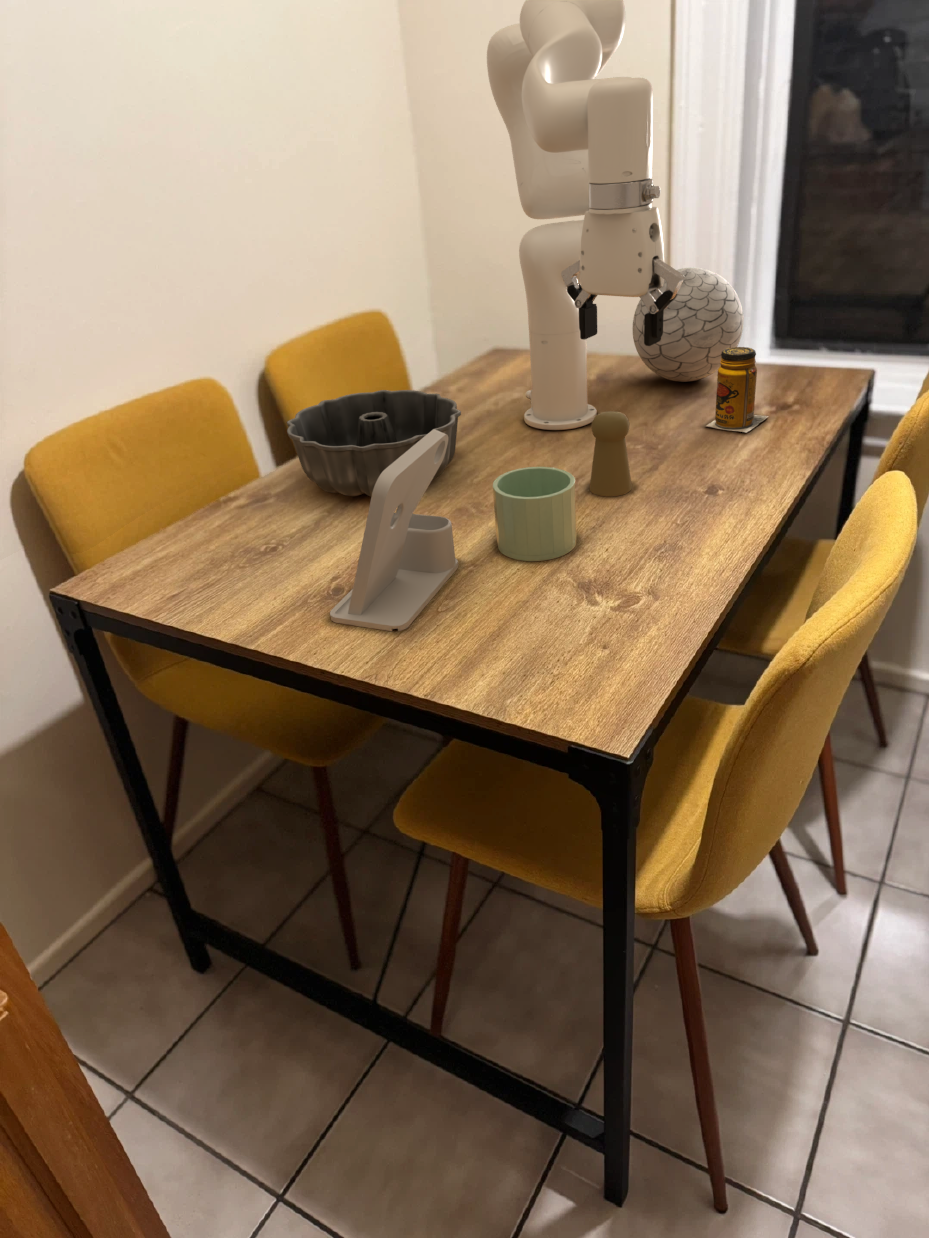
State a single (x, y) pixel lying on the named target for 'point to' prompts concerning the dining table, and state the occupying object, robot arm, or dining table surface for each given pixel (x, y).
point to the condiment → (736, 391)
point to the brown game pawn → (610, 455)
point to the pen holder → (535, 513)
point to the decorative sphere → (692, 327)
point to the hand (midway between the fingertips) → (620, 340)
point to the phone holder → (401, 545)
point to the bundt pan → (367, 435)
